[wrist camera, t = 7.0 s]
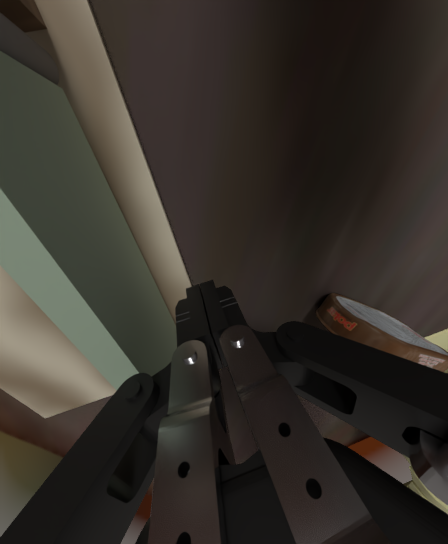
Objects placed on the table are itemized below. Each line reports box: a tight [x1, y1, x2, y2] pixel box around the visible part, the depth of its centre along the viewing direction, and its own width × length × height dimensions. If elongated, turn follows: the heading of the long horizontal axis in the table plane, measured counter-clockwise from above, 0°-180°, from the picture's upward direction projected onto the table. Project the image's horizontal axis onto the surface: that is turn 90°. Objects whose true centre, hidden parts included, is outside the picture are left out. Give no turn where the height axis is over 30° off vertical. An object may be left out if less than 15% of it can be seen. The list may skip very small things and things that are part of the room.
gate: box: [0, 13, 177, 390], centre depth 11 cm, size 2×21×8 cm, turn 12°
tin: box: [315, 293, 448, 372], centre depth 21 cm, size 15×3×8 cm, turn 63°
